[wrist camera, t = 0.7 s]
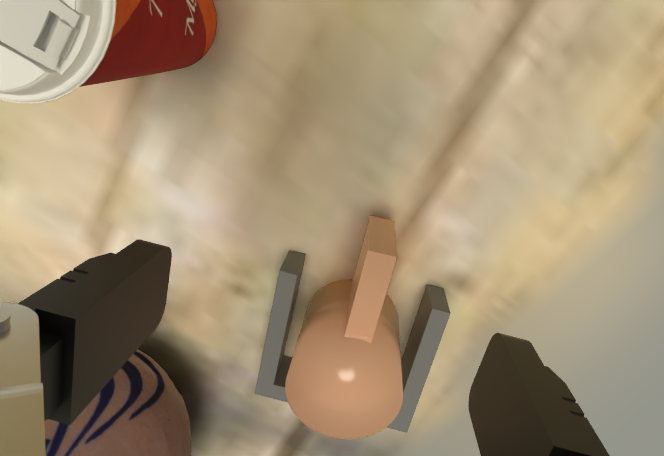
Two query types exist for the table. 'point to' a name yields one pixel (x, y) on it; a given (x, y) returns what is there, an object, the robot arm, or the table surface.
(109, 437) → the ceramic pitcher
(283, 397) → the charcoal holder
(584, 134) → the table surface
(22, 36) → the coffee cup
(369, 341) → the peach mallet
